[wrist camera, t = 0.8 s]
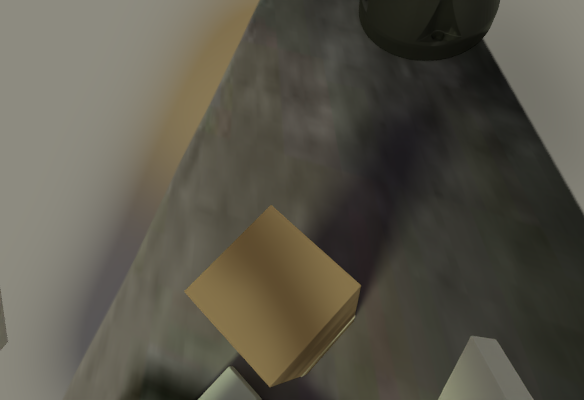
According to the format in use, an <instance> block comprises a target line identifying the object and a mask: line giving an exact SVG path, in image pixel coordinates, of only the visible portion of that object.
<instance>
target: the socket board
mask: <svg viewBox="0 0 584 400" xmlns="http://www.w3.org/2000/svg"><path fill="white" fill-rule="evenodd" d="M198 400H262V399H261V397H260V396H259V395H258V394H257V393H256V392H255V391H254V389H253V388H252V387H251V386H250V385H249V384H248V383H247V381H246V380H245V379H244V378H243V377H242V376H241V375H240V373H239V372H238V371H237V370H236V369H235V368H234V367H233V366H232V367H228V368H227V369H226V370H225V371H224V372H223V373H222V374H221V375H220V377H219V378H218V379H217V380H216V381H215V382H214V383H213V384H212V385H211V386H210V387H209V388H208V389H207V390H206V392H205V393H204V394H203V395H202V396H201V397H200V398H199V399H198Z"/></svg>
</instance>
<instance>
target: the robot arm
mask: <svg viewBox="0 0 584 400" xmlns="http://www.w3.org/2000/svg"><path fill="white" fill-rule="evenodd" d="M499 3H500V0H359V17H360V22H361V25H362V27H363V29H364V31H365V33H366V34H367V35H368V37H369V38H370V39H371V40H372V41H373V42H374V43H375V44H376V45H378V46H379V47H380V48H382V49H384V50H385V51H387V52H389V53H391V54H394V55H396V56H399V57H403V58H407V59H413V60H439V59H445V58H449V57H453V56H455V55H458V54H461V53H463V52H465V51H467V50H468V49H470V48H472V47H473V46H475V45H476V44H477V43H478V42H479V41H480V40H481V39H482V38H483V37H484V36H485V35H486V33H487V32H488V30H489V29H490V26H491V24H492V22H493V20H494V18H495V15H496V13H497V10H498V7H499ZM7 342H8V341H7V333H6V326H5V319H4V312H3V305H2V298H1V291H0V350H1V349H2V348H3V347H4V345H5V344H6V343H7ZM438 400H533V398H532V397H531V395H530V393H529V392H528V390H527V389H526V387H525V385H524V384H523V382H522V381H521V379H520V377H519V376H518V374H517V373H516V371H515V369H514V368H513V366H512V364H511V363H510V361H509V360H508V358H507V356H506V355H505V353H504V352H503V350H502V348H501V347H500V345H499V344H498V342H497V340H496V339H490V338H483V337H476V336H471V337H470V339H469V341H468V343H467V345H466V347H465V349H464V351H463V353H462V355H461V357H460V358H459V360H458V362H457V364H456V366H455V368H454V370H453V372H452V374H451V376H450V378H449V380H448V381H447V383H446V385H445V387H444V389H443V391H442V393H441V395H440V397H439V399H438Z"/></svg>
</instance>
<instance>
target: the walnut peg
mask: <svg viewBox="0 0 584 400" xmlns="http://www.w3.org/2000/svg"><path fill="white" fill-rule="evenodd" d="M360 288H361V285H360V284H359V283H358V282H357V281H356V280H354V279H353V278H352V277H351V276H350V275H349V274H348V273H347V272H345V271H344V270H343V269H342V268H341V267H340V266H339V265H338V264H337V263H335V262H334V261H333V260H332V259H331V258H330V257H329V256H328V255H326V254H325V253H324V252H323V251H322V250H321V249H320V248H319V247H317V246H316V245H315V244H314V243H313V242H312V241H311V240H310V239H309V238H307V237H306V236H305V235H304V234H303V233H302V232H301V231H300V230H298V229H297V228H296V227H295V226H294V225H293V224H292V223H291V222H290V221H288V220H287V219H286V218H285V217H284V216H283V215H282V214H281V213H279V212H278V211H277V210H276V209H275V208H274V207H273V206H272V205H270V206H269V207H268V208H267V209H266V210H265V211H264V212H263V213H262V214H261V215H260V216H259V217H258V218H257V219H256V220H255V221H254V222H253V223H252V224H251V225H250V226H249V227H248V228H247V229H246V230H245V231H244V232H243V233H242V234H241V235H240V236H239V237H238V238H237V239H236V240H235V241H234V242H233V243H232V244H231V245H230V246H229V247H228V248H227V249H226V250H225V251H224V252H223V253H222V254H221V255H220V256H219V257H218V258H217V259H216V260H215V261H214V262H213V263H212V264H211V265H210V266H209V267H208V268H207V269H206V270H205V271H204V272H203V273H202V274H201V275H200V276H199V277H198V278H197V279H196V280H195V281H194V282H193V283H192V284H191V285H190V286H189V287H188V288H187V289H186V290H185V291H184V292H185V293H186V294H187V295H188V296H189V298H190V299H191V300H192V301H193V302H194V303H195V304H196V305H197V307H198V308H199V309H200V310H201V311H202V312H203V313H204V314H205V315H206V317H207V318H208V319H209V320H210V321H211V322H212V323H213V324H214V326H215V327H216V328H217V329H218V330H219V331H220V332H221V333H222V334H223V336H224V337H225V338H226V339H227V340H228V341H229V342H230V343H231V344H232V346H233V347H234V348H235V349H236V350H237V351H238V352H239V353H240V355H241V356H242V357H243V358H244V359H245V360H246V361H247V362H248V363H249V365H250V366H251V367H252V368H253V369H254V370H255V371H256V372H257V374H258V375H259V376H260V377H261V378H262V379H263V380H264V381H265V382H266V384H267V385H268V386H269V387H272V386H275V385H278V384H281V383H284V382H286V381H289V380H292V379H295V378H298V377H303V376H304V375H307V373H308V372H309V371H310V370H311V369H312V368H313V367H314V365H315V364H316V363H317V362H318V361H319V360H320V359H321V358H322V356H323V355H324V354H325V353H326V352H327V351H328V350H329V348H330V347H331V346H332V345H333V344H334V343H335V342H336V341H337V339H338V338H339V337H340V336H341V335H342V334H343V333H344V331H345V330H346V329H347V328H348V327H349V326H350V325H351V324H352V322H353V321H354V318H355V317H356V316H355V312H356V307H357V303H358V298H359V293H360Z"/></svg>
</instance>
